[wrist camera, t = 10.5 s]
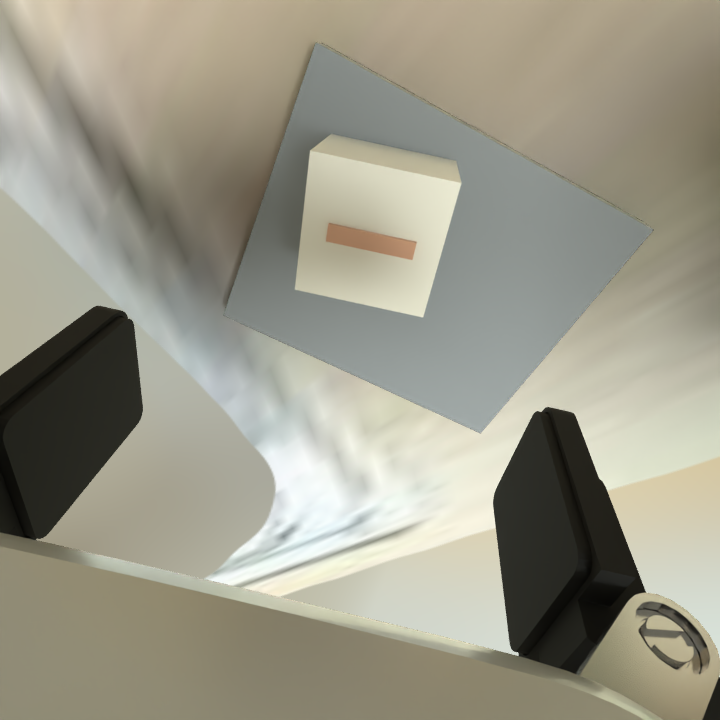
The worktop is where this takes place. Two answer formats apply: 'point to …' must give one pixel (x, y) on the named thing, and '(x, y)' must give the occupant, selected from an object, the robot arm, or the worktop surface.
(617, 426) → the worktop surface
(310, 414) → the worktop surface
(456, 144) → the base plate
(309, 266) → the white striped cube
